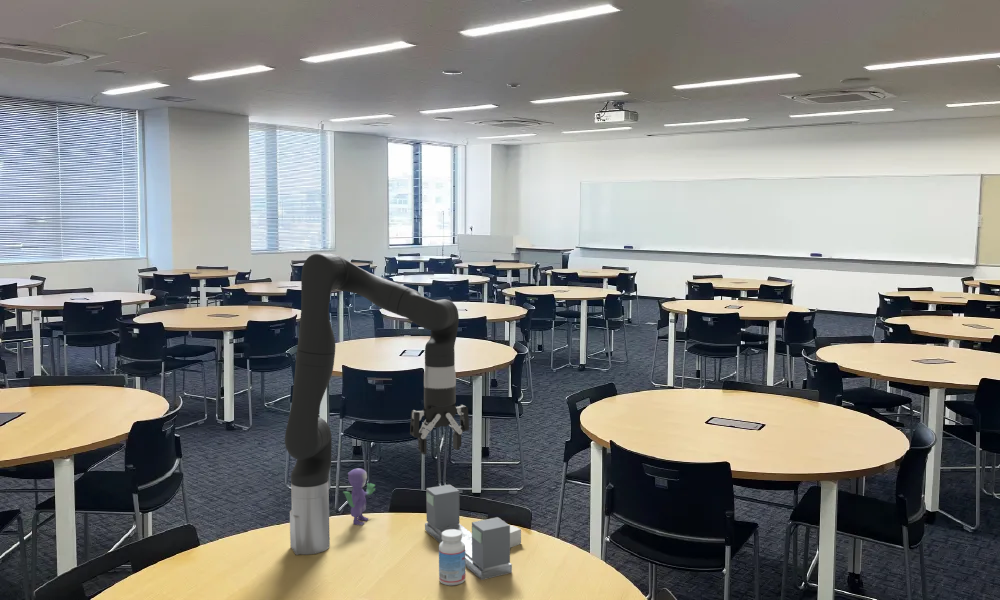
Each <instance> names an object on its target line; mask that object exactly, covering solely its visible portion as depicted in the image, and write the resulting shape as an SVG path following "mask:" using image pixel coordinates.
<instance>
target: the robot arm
mask: <svg viewBox="0 0 1000 600" xmlns="http://www.w3.org/2000/svg"><path fill="white" fill-rule="evenodd" d="M300 279H301V280H300V281H301V282H300V283H301V284H300V285H301V287H300V289H301V291H300V292H301V299H300V300H301V301H300V303H301V305H300V306H301V309H300V317H299V328H298V329H299V331H298V340H297V347H296V355H295V358H296V359H295V367H294V369H295V370H294V379H293V387H292V398H291V399H292V401H291V404H290V405H291V406H290V409H289V410H290V411H289V415H288V420H287V424H286V429H285V433H284V445H285V449H286V451H287V452H288V454H289V455H290V456H291V458H293V459H295V460H296V462H295V465H294V467H293V469H292V470H291V473H290V486H291V487H290V488H291V489H290V492H291V493H290V494H291V495H290V496H291V498H290V499H291V510H289V536H290V537H289V539H290V548H291V550H292V551H293V553H294V555H298V556H299V555H315V554H319V553H320V554H321V553H322V552H325V551H327V550H328V549H329V548H330V545H331V544H330V543H331V542H330V540H331V539H330V538H331V537H330V497H329V496H330V495H329V494H330V489H329V487H330V485H329V481H330V480H329V473H330V471H331V468H332V467H331V466H332V452H333V451H332V450H333V449H332V447H333V446H332V442H333V441H332V431H331V429H330V426H329V424H328V423H327V420H325V419H323V418H322V417H320V416H319V415H320V408H321V404H322V401H323V397H324V395H325V393H326V390H327V388H328V386H329V383H330V381H331V378H332V375H333V370H334V366H335V358H336V357H335V356H336V338H335V335H334V331H333V327H332V324H331V320H330V313H329V312H330V301H331V295H332V294H331V293H332V291H336V290H338V291H342V292H343V291H344V292H347V293H353V294H355V295H358V296H361V297H363V298H365V300H366V299H367V300H368V301H369V302H371V303H372V304H374V305H375V306H377V307H379V308H380V309H383V310H385V311H387V312H390V313H392V314H394V315H397V316H400V317H403V318H405V319H408V320H409V321H411V322H412V323H414V324H416V325H417V326H419V327H421V328H423V329H425V330H429V331H430V338H429V340H428V341H427V342H426V344H425V347H424V372H423V406H424V407H423V409H422V410H415V409H413V410H411V412H410V423H409V424H410V427H409V428H410V429H409V434H410V436H413V437H414V438H417V440H418V441H417V448H418V451H419V453H420V454H421V455H427V449H428V446H427V444H428V443H427V441H428V440H427V438H426V437H427V436H428V434H429V433H430V432H431V431H432V430H433V428H435V429H437V428H440V427H444V428H445V427H448V426H449V427H450V428H451V430H452V431H453V433H452V447H453V449H455V450H456V451H457V450H460V448H461V447H462V435H463V433H464V432H465V431H466V432H467V431H469V430H470V425H469V424H470V422H469V407H468V406H466V405H464V404H460V405H459V406H456V403H457V402H456V401H457V396H456V390H457V389H456V388H457V387H456V386H457V384H456V383H457V377H456V375H457V374H456V369H455V367H456V365H455V361H456V360H455V358H456V357H455V346H456V345H455V344H456V341H457V335H458V328H459V322H460V321H459V319H460V318H459V316H460V315H459V311H458V308H457V306H456V304H455V303H454V302H453V301H451V300H449V299H438V300H434V299H430V298H427V297H425V296H422V294H421V293H420V292H419V291H417V290H416V289H413V288H410V287H408V286H406V285H404V284H401V283H397V282H395V281H392V280H389V279H386V278H384V277H381V276H379V275H376V274H373V273H371V272H369V271H367V270H365V269H363V268H361V267H359V266H357V265H356V264H354V263H353V262H351V261H349V260H348V259H345V258H344V257H342V256H341V255H338V254H336V253H322V252H321V253H313V254H311V255H309V256H308V257H307V258H306V259H305V261H304V262H303V265H302V270H301V278H300ZM456 414H458V415H459V423H457V421H456V420H455V416H456ZM422 418H424V420H423V422H422V424H421V426H420V421H421V420H422Z"/></svg>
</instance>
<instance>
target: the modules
mask: <svg viewBox="0 0 1000 600" xmlns="http://www.w3.org/2000/svg"><path fill="white" fill-rule="evenodd" d="M425 494H426V495H425V496H426V497H425V498H426V523H428V522H429V523H430V524H431V525H432V526H433V527H434V528H440V527H445V526H450V525H455V524H460V490H459V489H457V488H456V487H454V486H453V485H451V484H445V485H440V486H439V485H437V486H432V487H426V493H425ZM510 525H511V524H508V523H507V522H506V521H505V520H502V519H501V518H500V517H498V516H496V517H490V518H487V519H481V520H477V521H473V522H471V533H472V560H473V561H475V562H476V563H477V564H478V565H479V566H481V567H482V568H483V569H485V568H490V567H494V566H498V565H502V564H507V563H511V548H510Z"/></svg>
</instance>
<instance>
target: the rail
mask: <svg viewBox="0 0 1000 600" xmlns="http://www.w3.org/2000/svg"><path fill="white" fill-rule="evenodd" d="M449 529H456V530H459V531H461V532H462V540H461V541H463V542H464V544H465V568H467V569H469V571H471V572H472V573H473V574H475V576H476V577H477V578H479V579H480V580H486V579H491V578H495V577H499V576H503V575H508V574H512V573H513V571H512V570H513V564H512V563H511V562H510V563H507V564H502V565H498V566H494V567H490V568H485V569H483V568H482V567H481V566H479V565H478V564H477V563H476V562H475V561H473V560H472V531H470V530H469V529H467V528H466V527H465V526H463V524H461V523H459V524H455V525H450V526H445V527H440V528H434V527H433V526H432V525H431V524H430V523H429V522H424V531H425V530H426V531H427V532H426V531H425V532H426V533H427V534H428V535H430V536H431V537H432V536H433V537H434V538H435V539H434V538H433V537H432V538H433V539H434V540H435V541H437V543H439V544H440V543H441V542H442V532H443V531H445V530H449Z"/></svg>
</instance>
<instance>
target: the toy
mask: <svg viewBox="0 0 1000 600" xmlns="http://www.w3.org/2000/svg"><path fill="white" fill-rule="evenodd" d="M367 473H368V472H367V471H366V470H365V469H364V468H359V467H358V468H354V469H352V470H350V471H349V472H347V475H348V479H347V480H348V482H349V483H350V486H351V487H352V490H351V492H350V491H346V490H345V491H342V494H344V496H345V498H346V501H347V504H348V506H349V507H350V515H351V517H353V522H352V523H353V525H355V526H363V525H364V524H365V522H366V521H369V517H366V516H364V515H363V512H365V511H366V509H367V507H366V506H367V505H368V503H367V500H366V496H370V495H372V494H374V493H373V492H375V491H376V488H375V487H376V484H374V483H371V482H369V483H366V480H367V479H368V474H367ZM365 486H366V490H364V489H363V488H364V487H365Z"/></svg>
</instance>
